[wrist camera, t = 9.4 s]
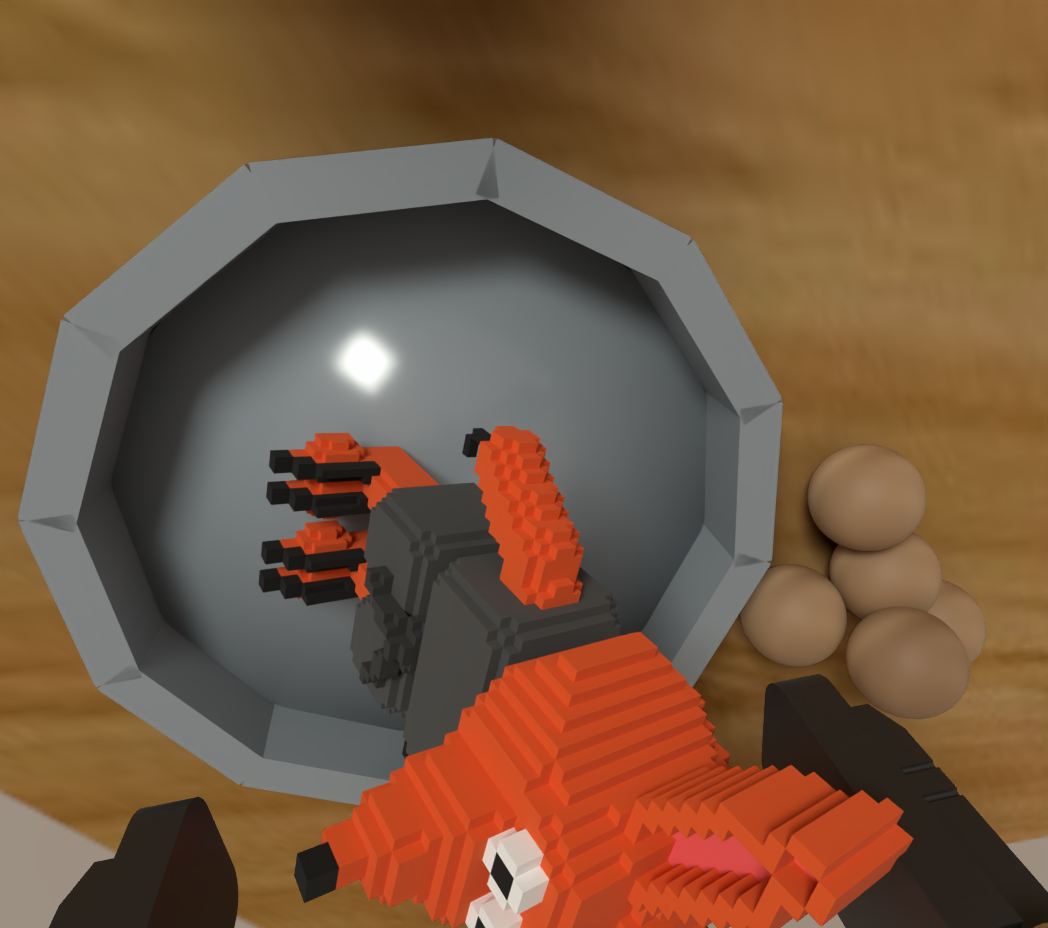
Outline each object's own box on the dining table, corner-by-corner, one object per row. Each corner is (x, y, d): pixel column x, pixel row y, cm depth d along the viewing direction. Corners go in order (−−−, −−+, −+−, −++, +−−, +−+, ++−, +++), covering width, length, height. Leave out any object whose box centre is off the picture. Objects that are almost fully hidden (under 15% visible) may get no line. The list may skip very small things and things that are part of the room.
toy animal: (176, 332, 12) (608, 975, 4) (443, 349, 15) (1009, 707, 7) (165, 686, 15) (387, 1515, 6) (392, 638, 18) (742, 1147, 10)
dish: (743, 113, 15) (802, 105, 13) (723, 677, 22) (760, 735, 20) (-46, 194, 13) (-133, 201, 11) (200, 785, 20) (177, 861, 18)
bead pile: (974, 407, 19) (1148, 481, 15) (931, 625, 22) (1064, 739, 18) (728, 447, 18) (834, 539, 14) (720, 668, 22) (805, 799, 17)
